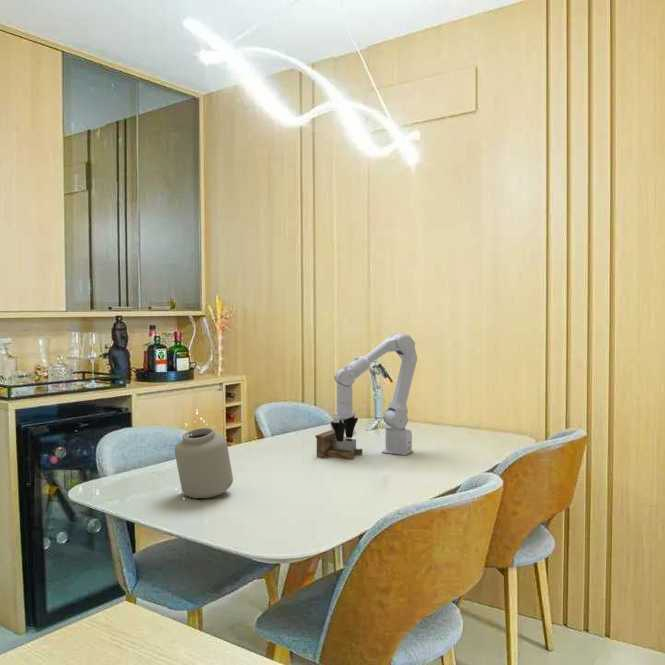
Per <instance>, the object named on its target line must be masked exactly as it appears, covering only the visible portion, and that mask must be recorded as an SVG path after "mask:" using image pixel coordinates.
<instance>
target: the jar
mask: <svg viewBox="0 0 665 665" xmlns="http://www.w3.org/2000/svg"><path fill="white" fill-rule="evenodd" d="M198 411H199V410H198V409H196V415H198V414H199V412H198ZM199 420H202V421H203V423H205V419H203V418H202V417H200V418H199ZM194 423H196V420H195V421H194ZM184 425H186V427H188V424H187V423H186V422H185V423H184ZM207 425H208V423H206V426H207ZM214 428H216V426H214ZM214 428H213V427H200V428H195V429H190V430H188V431H186V432H185V433H184V434H183V435H182V439H181V440H179V442H177V443H176V445H175V447H174V454H175V455H174V456H175V459H176V460H175V461H176V466H177V472H178V477H179V481H180V487H181V491H182V493H183V494H184V495H185V496H186V497H188V496H189V497H188V498H191V497H193V498H192V499H195V498H205V499H210V498H213V497H217V496H218V495H219V496H220V495H221V494H223V493H225V492H226V491H227V490H229V489H230V488H231V486H232V484H233V482H234V476H233V471H232V464H231V459H230V458H231V457H230V454H229V448H228V441H227V438H226V437H225V436H224V435H223V434H221V433H219V432H216V431H215V429H214ZM175 490H177V488H175ZM181 491H179V494H181ZM182 499H183V500H185V498H184V497H183V498H182Z"/></svg>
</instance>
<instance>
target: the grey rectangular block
mask: <svg viewBox="0 0 665 665" xmlns="http://www.w3.org/2000/svg"><path fill="white" fill-rule="evenodd" d="M356 449H357V439H355V438H350V439H347V438H344V439H343V442H339V441H337V439H336V438H334V439H332V451H341V452H350V453H354V457H356V456H357V455H356Z"/></svg>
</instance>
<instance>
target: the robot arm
mask: <svg viewBox="0 0 665 665" xmlns="http://www.w3.org/2000/svg"><path fill="white" fill-rule="evenodd" d="M415 346H416V342H415V340H414V339H413V338H412V336H411V335H409V334H404V333H403V334H402V333H401V334H400V333H393V334H391V335H390V336H388V337H386V338H385V339H384V340H383V341H382V342H381V343H379V344H378V345H377V346H376V347H375V348H373V349H372V350H371V351H370V352H369V353H367V354H366V355H364V356H363V355H360V356H355V357H354V358H353V359H354V360H353V361H351V362H349V363H348V364H345V365H344V366H343V367H344V368H340V369H338V370H337V371H336V372H335V375H334V376H333V378H334V381H335V383H336V413H335V412H334V413H333V417H332V420H333V421H332V420H331V421H332V422H330V426H331V425H332V427H333V429H334V431H335V435H336V439H337V441H339V442H343V439H344V431H345V433H346V437H347V438H350V439H353V437H354V436H353V431H354V429H355V427H356V425H357V422H358V420H359V419H358V417H356V411H353V384H354V383H355V381H356V379H357V378H359V377H360V376H361V375H363V374H364V373H365V372H367V371H368V370H369V369H370V367H371V364H372V363H373V362H375V361H377V360H378V359H379V358H381V357H382V356H384V355H385V354H387V353H389V352H391V353H392V352H395V353H396V354H397V355H398V356H399V358H400V359H401V364H400V368H399V371H398V376H397V379H396V384H395V388H394V393H393V396H392V400H391V402H390V403H389V404H388V406H387V409H386V410H385V411H384V414H383V421H384V423H385V424H386V425H385V449H383V450H381V453H384V454H385V453H386V454H391V455H400V456H407V455H408V454H410V453H412V452H413V433H412V430H411V429H407V428H406V426H407V425H408V422H409V418H408V412H409V411H408V407H407V406H408V405H407V402H408V398H409V394H410V389H411V385H412V381H413V379H414V378H413V377H414V374H415V370H416V365H417V361H418V354H417V351H416V347H415ZM342 421H343V422H344V423H343V422H342ZM352 436H353V437H352Z"/></svg>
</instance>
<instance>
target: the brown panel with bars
mask: <svg viewBox="0 0 665 665" xmlns="http://www.w3.org/2000/svg"><path fill="white" fill-rule="evenodd" d="M334 438H336V435H335V431H334V429H332V428H331V429H329V430H328V431H325V432H322V433H319V434H316V435H315V439H316V458H320V457H321V458H322V459H325V458H327V457H328V456H329V458H336V459H337V458H338V459H347V460H354V459H355V456H354V453H350V452H341V451H332V439H334ZM356 456H363V449H361V448H356Z"/></svg>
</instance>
